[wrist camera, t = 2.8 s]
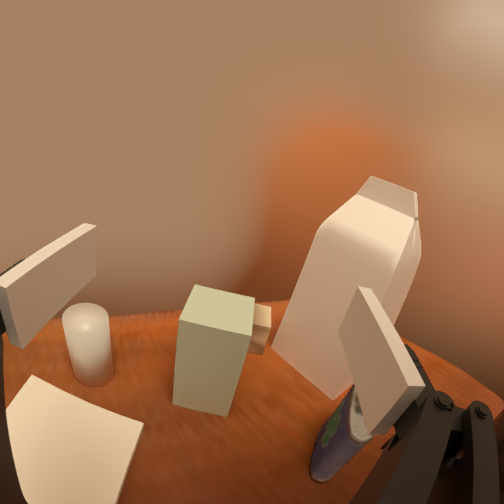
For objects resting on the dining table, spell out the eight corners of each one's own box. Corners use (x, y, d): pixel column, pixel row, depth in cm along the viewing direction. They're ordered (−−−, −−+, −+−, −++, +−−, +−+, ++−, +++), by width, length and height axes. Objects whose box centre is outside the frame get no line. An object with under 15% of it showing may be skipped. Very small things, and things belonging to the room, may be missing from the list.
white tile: (144, 426, 23) (143, 423, 23) (104, 543, 10) (102, 542, 10) (33, 379, 23) (32, 374, 22) (-23, 465, 10) (-27, 461, 9)
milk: (270, 347, 40) (327, 162, 30) (318, 325, 47) (371, 174, 38) (332, 400, 32) (427, 199, 22) (373, 365, 40) (447, 205, 30)
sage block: (232, 378, 33) (254, 298, 28) (227, 416, 27) (251, 335, 23) (184, 367, 33) (194, 284, 28) (172, 404, 27) (179, 319, 23)
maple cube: (262, 333, 43) (270, 306, 41) (261, 355, 38) (271, 327, 36) (230, 326, 43) (236, 299, 41) (225, 348, 38) (232, 319, 36)
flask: (328, 486, 20) (385, 431, 16) (301, 478, 21) (351, 421, 17) (344, 424, 29) (388, 361, 25) (322, 416, 29) (362, 352, 25)
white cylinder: (120, 363, 30) (116, 311, 27) (104, 393, 25) (94, 340, 22) (85, 350, 30) (77, 298, 27) (66, 377, 25) (53, 323, 22)
